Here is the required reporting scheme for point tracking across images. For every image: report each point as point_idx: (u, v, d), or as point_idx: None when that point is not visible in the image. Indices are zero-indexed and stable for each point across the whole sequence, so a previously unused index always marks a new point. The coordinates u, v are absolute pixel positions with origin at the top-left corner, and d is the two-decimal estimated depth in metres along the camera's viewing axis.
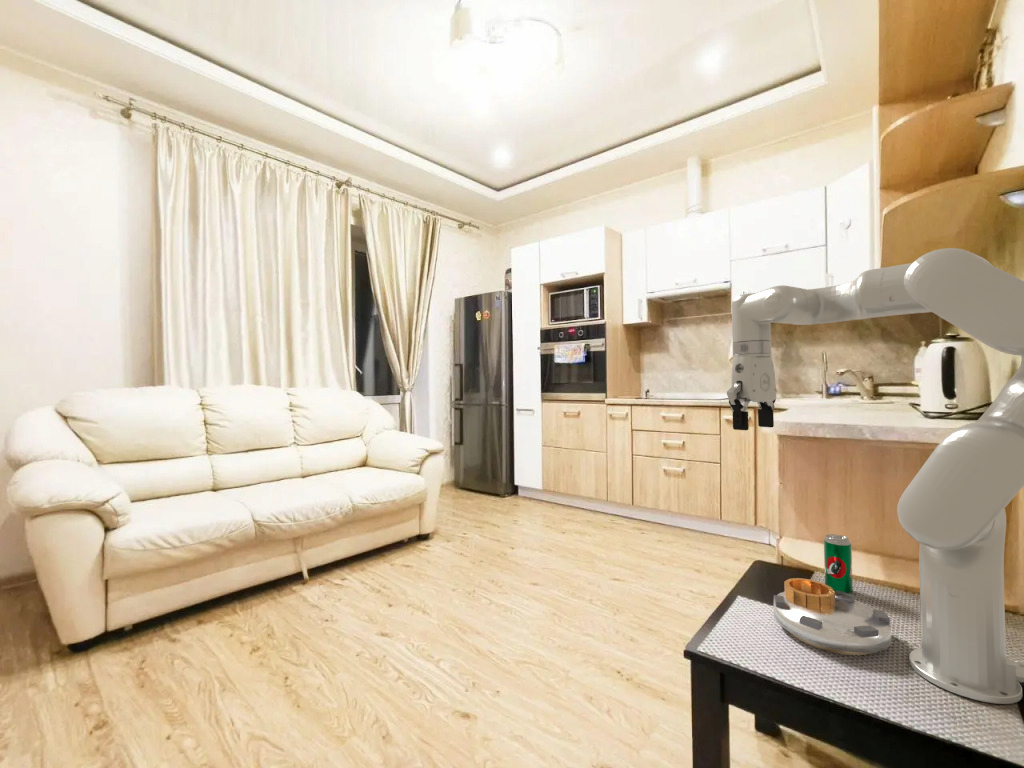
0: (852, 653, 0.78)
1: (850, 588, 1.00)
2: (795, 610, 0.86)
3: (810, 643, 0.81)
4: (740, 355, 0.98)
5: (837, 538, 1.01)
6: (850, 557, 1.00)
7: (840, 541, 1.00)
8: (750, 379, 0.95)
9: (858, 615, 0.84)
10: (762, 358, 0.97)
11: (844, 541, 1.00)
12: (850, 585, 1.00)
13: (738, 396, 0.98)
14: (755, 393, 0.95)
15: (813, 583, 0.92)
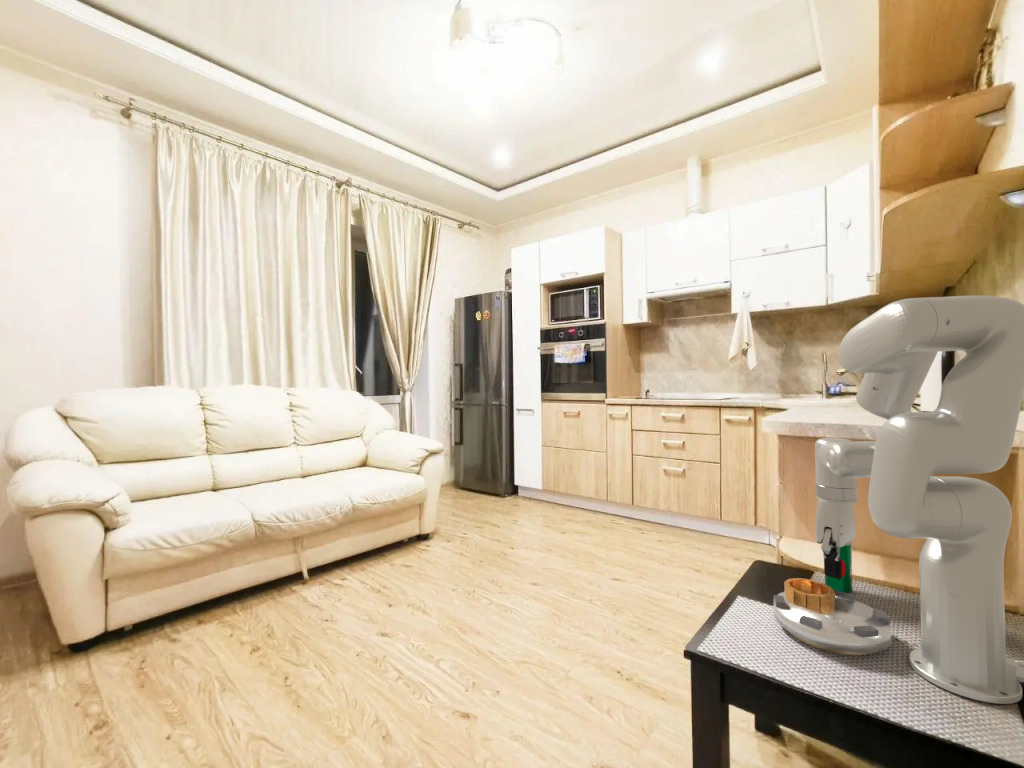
0: (852, 653, 0.78)
1: (850, 588, 1.00)
2: (795, 610, 0.86)
3: (810, 643, 0.81)
4: None
5: None
6: (850, 557, 1.00)
7: None
8: None
9: (858, 615, 0.84)
10: None
11: None
12: (850, 585, 1.00)
13: None
14: None
15: (813, 583, 0.92)
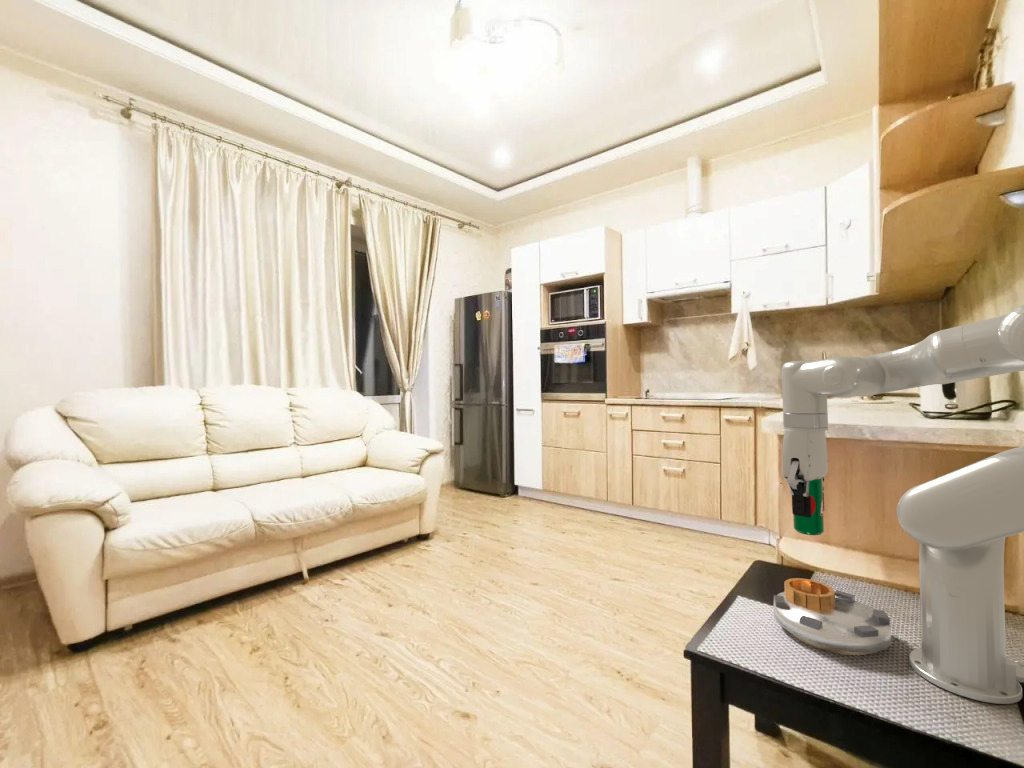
0: (852, 653, 0.78)
1: (820, 528, 0.88)
2: (795, 610, 0.86)
3: (810, 643, 0.81)
4: None
5: None
6: (820, 493, 0.88)
7: None
8: None
9: (858, 615, 0.84)
10: None
11: None
12: (821, 524, 0.88)
13: None
14: None
15: (813, 583, 0.92)
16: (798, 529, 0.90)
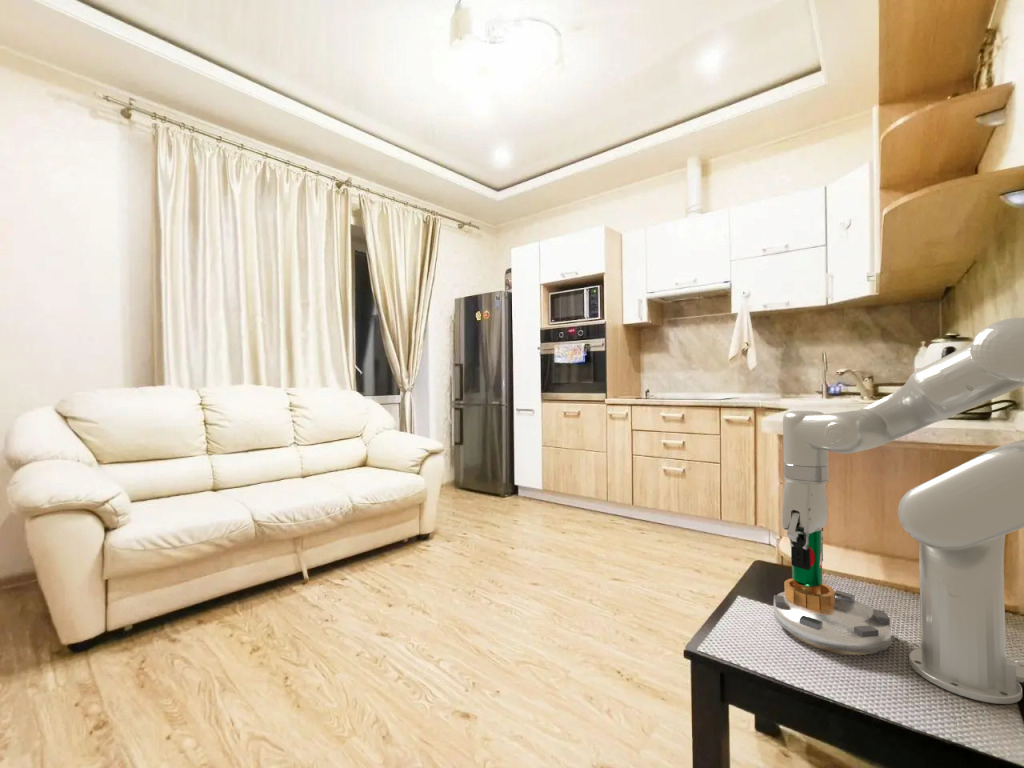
0: (852, 653, 0.78)
1: (819, 580, 0.88)
2: (795, 610, 0.86)
3: (810, 643, 0.81)
4: None
5: None
6: (820, 545, 0.88)
7: None
8: None
9: (858, 615, 0.84)
10: None
11: None
12: (819, 576, 0.88)
13: None
14: None
15: None
16: (797, 580, 0.90)
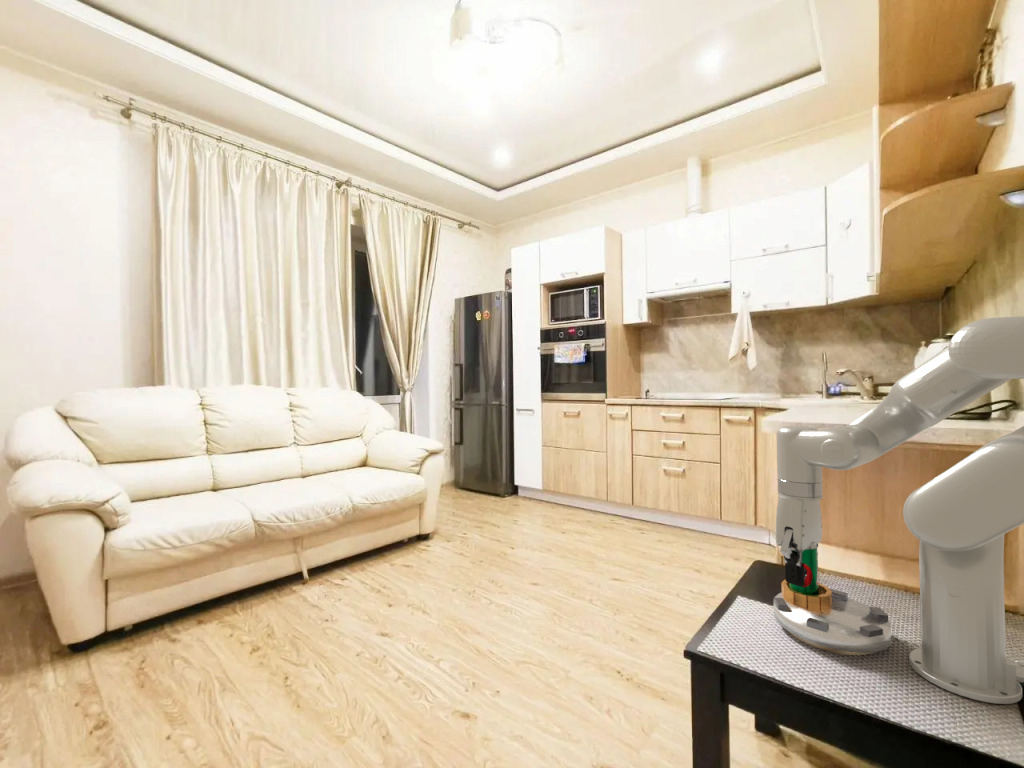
0: (852, 653, 0.78)
1: None
2: (798, 611, 0.85)
3: (810, 643, 0.81)
4: None
5: None
6: (816, 562, 0.87)
7: None
8: None
9: (856, 613, 0.84)
10: None
11: (810, 544, 0.87)
12: (817, 594, 0.87)
13: None
14: None
15: None
16: None
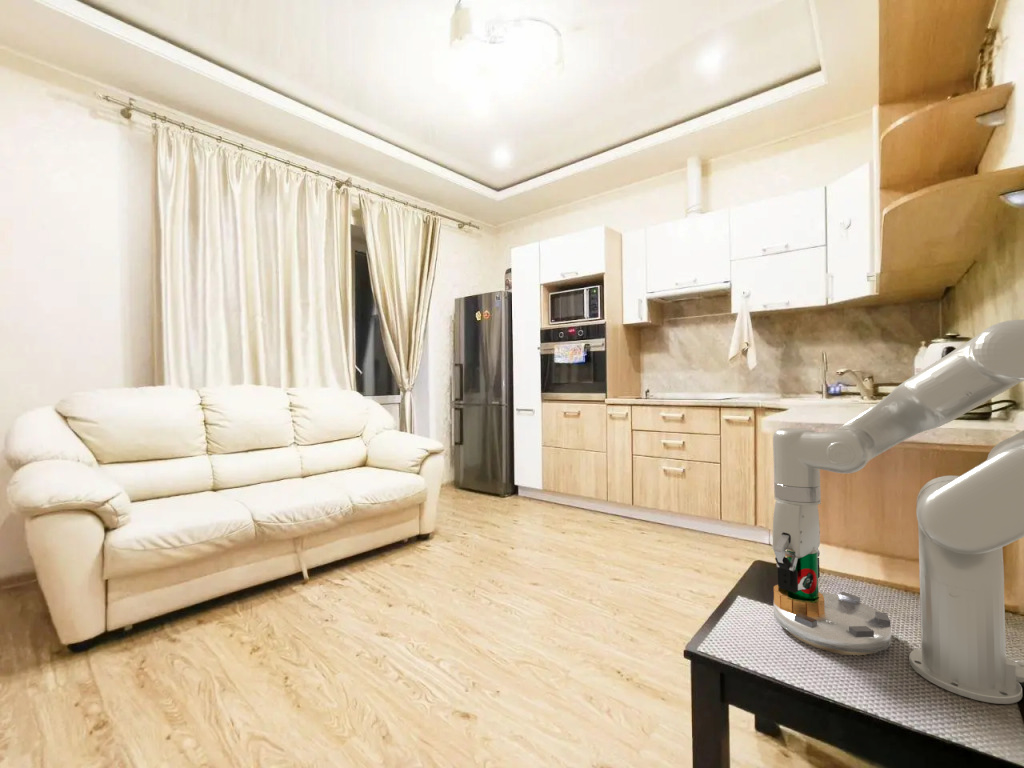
0: (852, 653, 0.78)
1: None
2: (822, 623, 0.81)
3: (810, 643, 0.81)
4: None
5: None
6: (817, 565, 0.86)
7: None
8: None
9: (839, 604, 0.88)
10: None
11: (813, 548, 0.86)
12: (818, 598, 0.86)
13: None
14: None
15: None
16: None
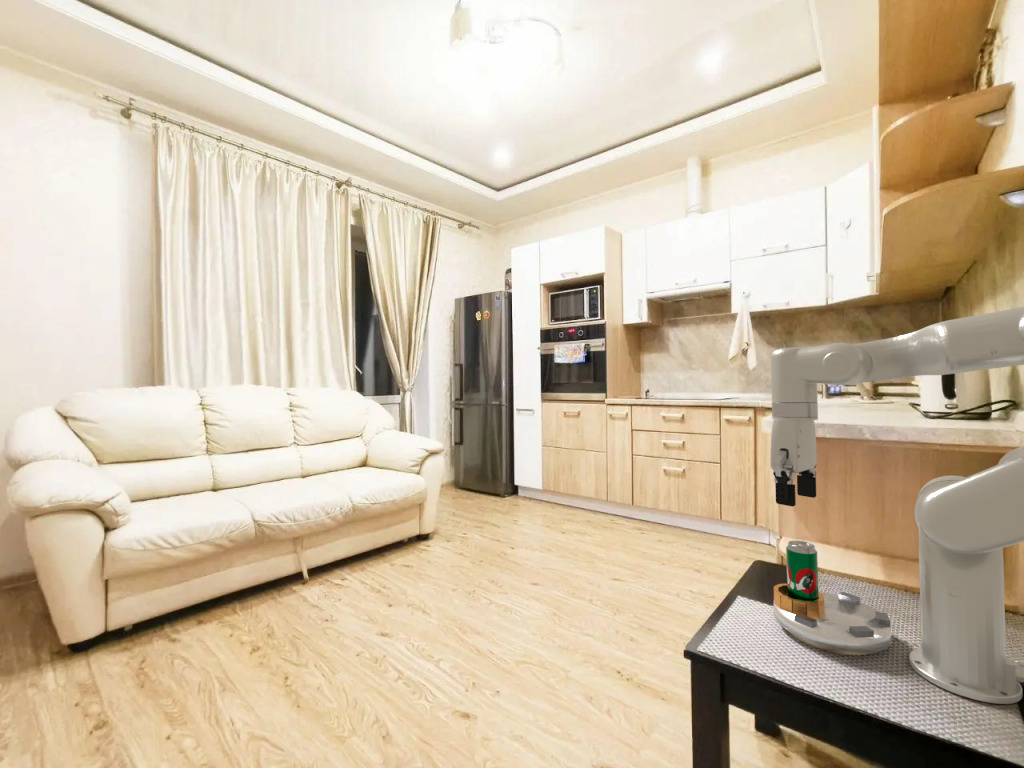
0: (852, 653, 0.78)
1: None
2: (822, 623, 0.81)
3: (810, 643, 0.81)
4: None
5: (804, 545, 0.86)
6: None
7: (810, 549, 0.85)
8: None
9: (839, 604, 0.88)
10: None
11: (813, 548, 0.86)
12: (818, 598, 0.86)
13: None
14: None
15: (786, 587, 0.91)
16: None
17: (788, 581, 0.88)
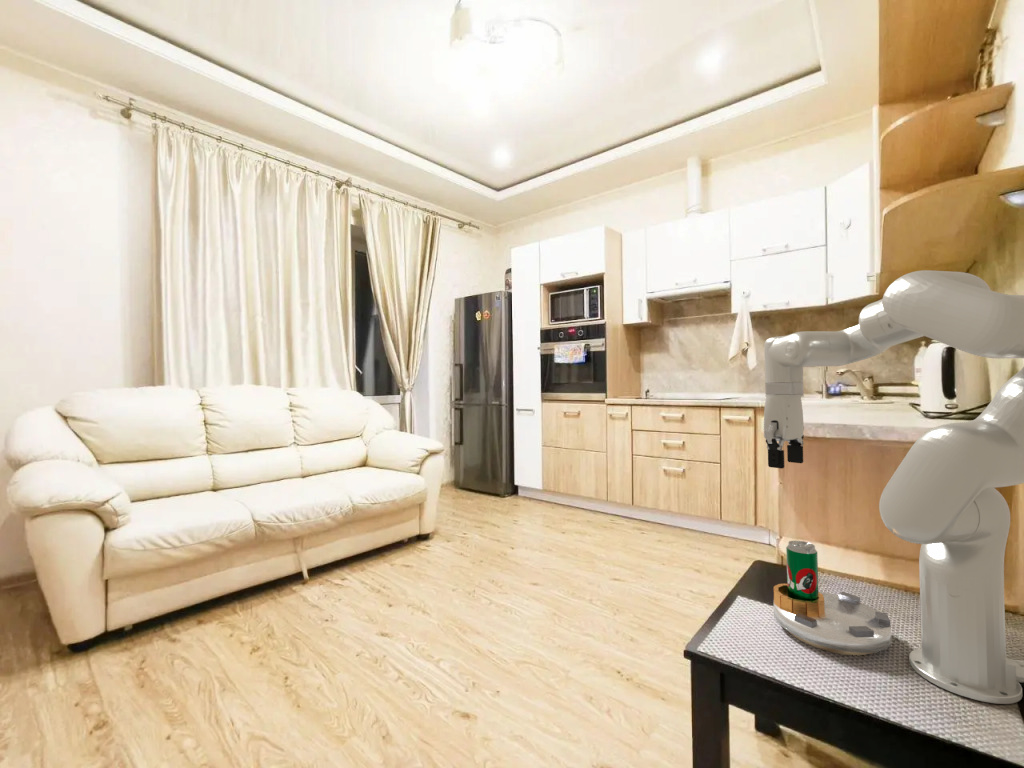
0: (852, 653, 0.78)
1: None
2: (822, 623, 0.81)
3: (810, 643, 0.81)
4: None
5: (804, 545, 0.87)
6: None
7: (811, 549, 0.85)
8: None
9: (839, 604, 0.88)
10: None
11: (813, 548, 0.86)
12: (818, 598, 0.86)
13: None
14: None
15: (786, 587, 0.91)
16: None
17: (788, 581, 0.88)
